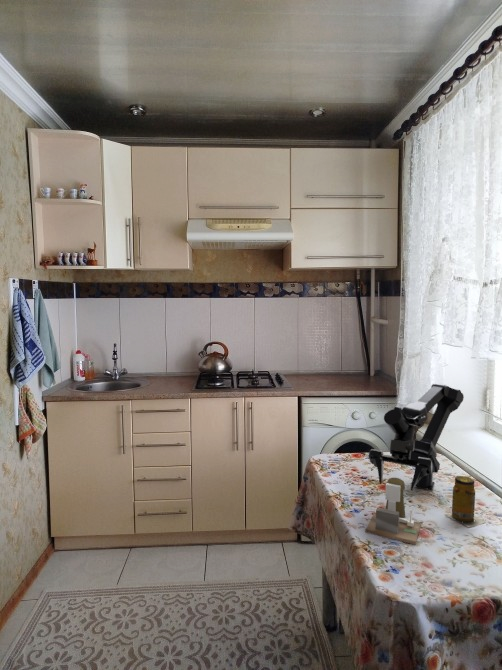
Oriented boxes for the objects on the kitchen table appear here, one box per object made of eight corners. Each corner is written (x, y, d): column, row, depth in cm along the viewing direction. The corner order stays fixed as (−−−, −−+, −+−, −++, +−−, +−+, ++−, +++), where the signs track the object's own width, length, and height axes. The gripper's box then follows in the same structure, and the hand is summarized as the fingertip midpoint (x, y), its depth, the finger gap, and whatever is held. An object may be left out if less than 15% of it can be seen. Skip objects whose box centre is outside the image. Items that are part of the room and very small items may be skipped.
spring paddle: (385, 515, 135) (386, 482, 134) (414, 521, 131) (416, 488, 130) (384, 518, 133) (385, 485, 132) (413, 525, 129) (414, 491, 128)
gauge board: (374, 515, 137) (374, 495, 136) (421, 525, 131) (421, 504, 130) (365, 531, 127) (365, 510, 127) (415, 544, 121) (416, 522, 120)
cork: (406, 520, 134) (407, 484, 133) (385, 518, 135) (386, 482, 134) (404, 510, 140) (405, 476, 139) (383, 508, 141) (384, 474, 140)
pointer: (407, 523, 130) (408, 508, 129) (413, 525, 129) (414, 509, 128) (407, 525, 129) (407, 510, 128) (413, 526, 128) (413, 511, 127)
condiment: (461, 510, 140) (463, 472, 139) (485, 522, 133) (488, 483, 131) (444, 515, 137) (446, 477, 136) (468, 528, 129) (470, 488, 128)
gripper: (370, 424, 145) (360, 469, 136) (432, 433, 136) (426, 481, 127) (375, 441, 153) (366, 484, 144) (434, 450, 144) (429, 497, 135)
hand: (395, 486), depth 137 cm, fingers open, 9 cm apart
